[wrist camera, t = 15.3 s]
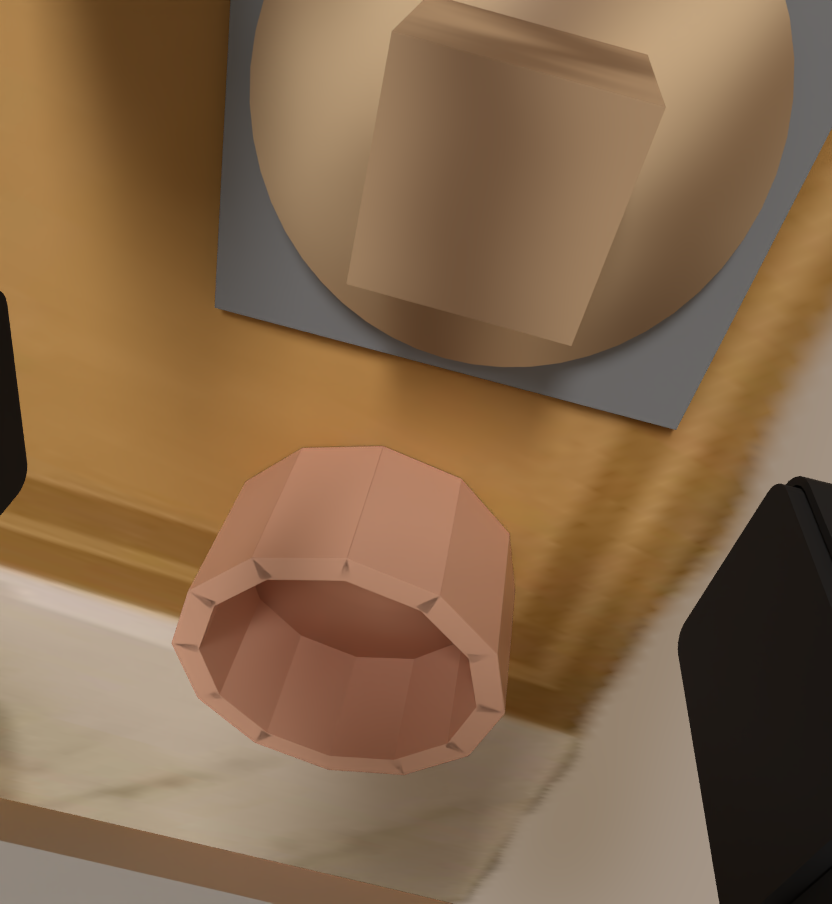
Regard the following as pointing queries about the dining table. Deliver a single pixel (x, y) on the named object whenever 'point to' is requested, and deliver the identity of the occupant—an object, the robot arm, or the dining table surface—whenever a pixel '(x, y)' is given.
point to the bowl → (354, 613)
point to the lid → (519, 160)
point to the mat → (579, 381)
